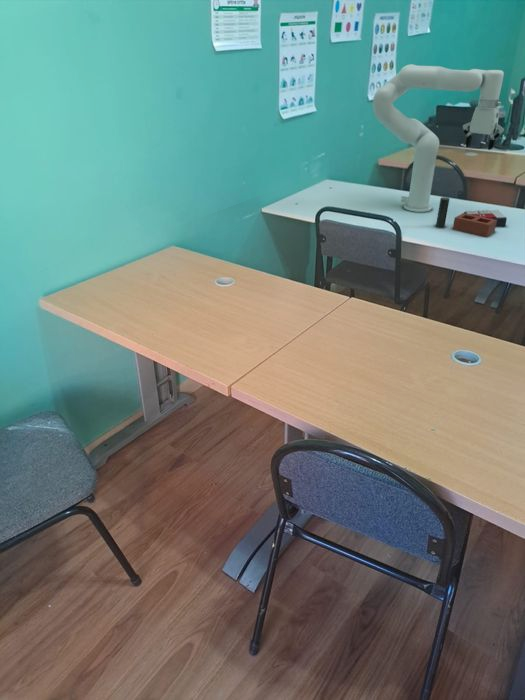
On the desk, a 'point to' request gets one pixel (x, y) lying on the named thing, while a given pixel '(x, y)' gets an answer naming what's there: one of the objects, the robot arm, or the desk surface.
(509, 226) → the desk surface
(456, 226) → the hollow brick
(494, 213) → the calculator
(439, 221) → the peg
